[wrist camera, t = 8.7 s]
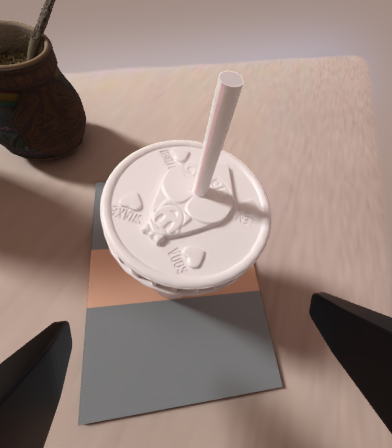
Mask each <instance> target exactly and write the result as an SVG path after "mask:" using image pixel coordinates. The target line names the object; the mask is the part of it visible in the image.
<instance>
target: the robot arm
mask: <svg viewBox="0 0 392 448" xmlns="http://www.w3.org/2000/svg"><path fill="white" fill-rule="evenodd" d="M309 313H310V316H311V318H312V320H313V322H314V323H315V325H316V327H317V328H318V330H319V331H320V333H321V335H322V336H323V338H324V340H325V341H326V343H327V345H328V346H329V348H330V349H331V351H332V353H333V354H334V355H335V357H336V358H337V360H338V361H339V362H340V364H341V365H342V367H343V368H344V369H345V371H346V372H347V373H348V375H349V376H350V377H351V379H352V380H353V382H354V383H355V384H356V386H357V387H358V388H359V390H360V391H361V392H362V394H363V395H364V397H365V398H366V399H367V401H368V402H369V403H370V405H371V406H372V408H373V409H374V410H375V412H376V413H377V414H378V416H379V417H380V418H381V420H382V421H383V423H384V424H385V425H386V427H387V428H388V429H389V431H390V432H391V433H392V318H391V317H388V316H386V315H383V314H380V313H378V312H375V311H372V310H370V309H367V308H364V307H362V306H359V305H356V304H354V303H351V302H349V301H346V300H343V299H341V298H338V297H335V296H333V295H330V294H327V293H324V292H320V293H314V294H313V295H312V299H311V304H310V309H309ZM71 350H72V337H71V332H70V326H69V323H68V322H67V321H60V322H54V323H52V324H51V325H50V326H48V327H47V328H46V329H44V330H43V331H42V332H41V333H39V334H38V335H37V336H35V337H34V338H33V339H32V340H30V341H29V342H28V343H26V344H25V345H24V346H23V347H21V348H20V349H19V350H17V351H16V352H15V353H14V354H12V355H11V356H10V357H8V358H7V359H6V360H4V361H3V362H2V363H1V364H0V448H43V447H44V444H45V442H46V439H47V436H48V433H49V430H50V427H51V424H52V421H53V418H54V415H55V412H56V409H57V406H58V403H59V400H60V397H61V393H62V389H63V384H64V380H65V376H66V371H67V367H68V363H69V358H70V354H71Z"/></svg>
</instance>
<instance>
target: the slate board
mask: <svg viewBox="0 0 392 448" xmlns="http://www.w3.org/2000/svg"><path fill="white" fill-rule="evenodd" d="M105 184H106V182H96V191H95V204H94V218H93V231H92V245H91V258H90V271H89V285H88V298H87V312H86V325H85V339H84V352H83V366H82V379H81V392H80V406H79V419H78V425H83V424H88V423H94V422H99V421H104V420H110V419H115V418H120V417H126V416H131V415H136V414H142V413H147V412H152V411H158V410H163V409H168V408H173V407H179V406H184V405H189V404H195V403H200V402H205V401H211V400H216V399H221V398H227V397H232V396H237V395H243V394H248V393H253V392H259V391H264V390H269V389H275V388H280V387H283V386H282V382H281V378H280V374H279V370H278V365H277V361H276V357H275V353H274V348H273V344H272V340H271V336H270V331H269V327H268V323H267V319H266V314H265V310H264V306H263V302H262V298H261V293H260V289H259V285H258V281H257V276H256V272H255V268H254V264H253V265H252V267H251V268H250V269H249V270H248V271H247V272H246V273H245V274H244V275H242V276H241V277H240V278H239V279H238V280H237V281H236V282H234V283H232V284H230V285H228V286H227V287H225V288H223V289H221V290H219V291H217V292H212V293H207V294H202V295H197V296H184V297H181V298H175V299H171V298H166V297H163V296H161V295H159V294H158V293H157V292H156V291H155V290H154V289H152V288H149V287H147V286H144V285H143V284H142V283H140V282H139V281H137V280H136V279H135V278H133V277H132V276H131V275H129V274H128V273H126V272H125V271H124V269H123V268H122V267H121V266H120V264H119V263H118V262H117V260H116V259H115V258H114V257H113V255H112V254H111V252H110V249H109V246H108V244H107V241H106V239H105V236H104V231H103V227H102V223H101V218H100V201H101V196H102V192H103V189H104V186H105Z"/></svg>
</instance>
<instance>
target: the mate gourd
mask: <svg viewBox="0 0 392 448" xmlns="http://www.w3.org/2000/svg"><path fill="white" fill-rule="evenodd" d="M54 2H55V0H46V2H45V4H44V7H43V8H42V9H41V10H42V11H41V13H40V17H39V19H38V23H37V25H36V27H35V28H34V27H31V26H28V25H26V24H23V23H19V22H13V21H0V144H1V145H3V146H4V147H6V149H8V150H9V151H10V152H12V153H13V154H16V155H18V156H21V157H24V158H27V159H32V160H52V159H58V158H61V157H64V156H66V155H68V154H70V153H72V152H73V151H74V150H76V149H77V148H78V146H79V145H80V144H81V143H82V139H83V135H84V132H85V126H86V125H85V124H86V115H85V111H84V109H83V105H82V102H81V99H80V97H79V95H78V93H77V92H76V90H75V89H74V87H73V86H72V85H71V83H70V82H69V81H68V80H67V79H66V78H65V76H64V75H63V74H62V73H61V71H60V70H59V68H58V66H57V59H56V57H55V54H54V51H53V47H52V44H51V42H50V40H49V39H48V38H47V37H46V35H44V34H43V33H44V30H45V28H46V26H47V24H48V20H49V18H50V14H51V12H52V8H53V5H54Z"/></svg>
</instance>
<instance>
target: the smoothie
mask: <svg viewBox="0 0 392 448" xmlns="http://www.w3.org/2000/svg"><path fill="white" fill-rule="evenodd" d="M243 83H244V80H243V78H242V77H241V76H240V75H239V74H238V73H235V72H232V71H223V72H221V73H220V74H219V77H218V82H217V86H216V90H215V95H214V99H213V103H212V108H211V112H210V117H209V121H208V125H207V130H206V134H205V138H204V143H202V142H197V141H189V140H169V141H163V142H158V143H154V144H151V145H148V146H145V147H143V148H141V149H139V150H137V151H135V152H133V153H132V154H130V155H129V156H128V157H126V158H125V159H124V160H123V161H121V162H120V163H119V164H118V165H117V167H116V168H115V169H114V170H113V172H112V173H111V174H110V176H109V178H108V179H107V181H106V184H105V186H104V189H103V192H102V196H101V201H100V218H101V223H102V227H103V231H104V236H105V239H106V241H107V244H108V246H109V249H110V252H111V254H112V255H113V257H114V258H115V259H116V260H117V262H118V263H119V264H120V266H121V267H122V268H123V269H124V271H125V272H126V273H128V274H129V275H131V276H132V277H133V278H135V279H136V280H137V281H139V282H140V283H142V284H143V285H144V286H147V287H149V288H152V289H154V290H155V291H156V292H157V293H158V294H159V295H161V296H163V297H166V298H171V299H175V298H181V297H184V296H197V295H202V294H207V293H212V292H217V291H219V290H221V289H223V288H225V287H227V286H228V285H230V284H232V283H234V282H236V281H237V280H238V279H239V278H240V277H241V276H242V275H244V274H245V273H246V272H247V271H248V270H249V269H250V268H251V267H252V265H253V264H254V263H255V261H256V260H257V259H258V258H259V256H260V255H261V253H262V252H263V250H264V248H265V246H266V243H267V241H268V238H269V234H270V228H271V210H270V205H269V201H268V198H267V195H266V193H265V191H264V189H263V187H262V185H261V183H260V182H259V180H258V179H257V177H256V176H255V175H254V173H253V172H252V171H251V170H250V169H249V168H248V167H247V166H246V165H245V164H244V163H243V162H241V161H240V160H239V159H238V158H236V157H234V156H233V155H231V154H230V153H228V152H226V151H224V150H222V147H223V144H224V141H225V138H226V135H227V132H228V129H229V126H230V122H231V119H232V116H233V113H234V110H235V107H236V104H237V101H238V98H239V95H240V92H241V89H242V86H243Z"/></svg>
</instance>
